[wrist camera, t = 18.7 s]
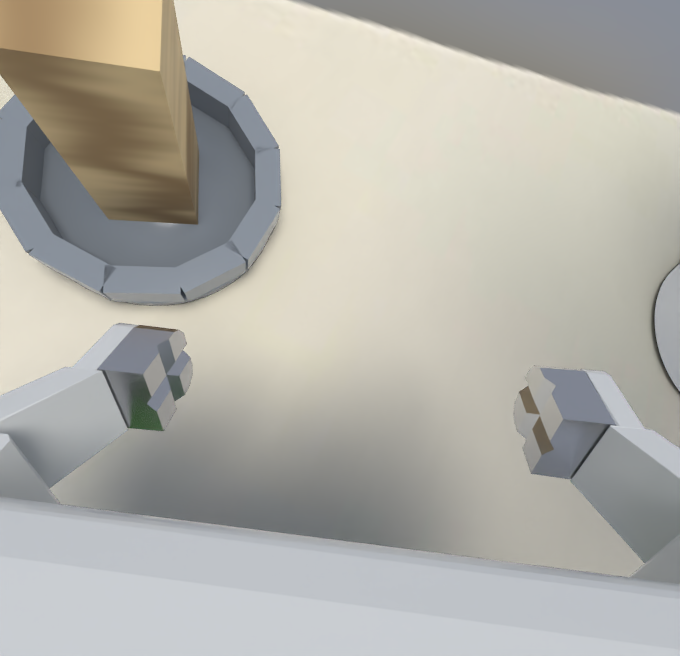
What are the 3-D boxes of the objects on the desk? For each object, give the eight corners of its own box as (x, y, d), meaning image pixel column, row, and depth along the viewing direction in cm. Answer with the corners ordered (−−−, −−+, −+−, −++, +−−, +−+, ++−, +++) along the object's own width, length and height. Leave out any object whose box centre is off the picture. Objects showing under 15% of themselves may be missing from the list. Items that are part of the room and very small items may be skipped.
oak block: (199, 151, 25) (163, -55, 14) (197, 224, 24) (160, 71, 13) (112, 142, 24) (-6, -92, 12) (108, 219, 23) (-22, 44, 12)
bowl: (274, 103, 28) (277, 69, 25) (278, 306, 26) (282, 295, 23) (31, 70, 24) (4, 26, 22) (9, 304, 22) (-25, 290, 19)
